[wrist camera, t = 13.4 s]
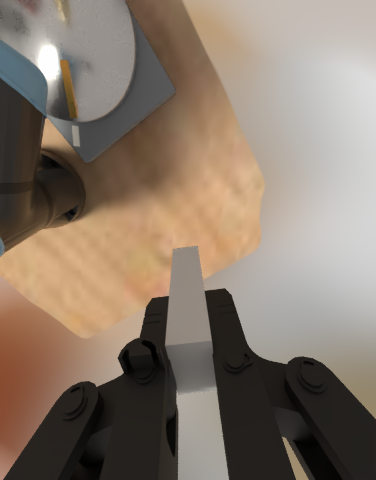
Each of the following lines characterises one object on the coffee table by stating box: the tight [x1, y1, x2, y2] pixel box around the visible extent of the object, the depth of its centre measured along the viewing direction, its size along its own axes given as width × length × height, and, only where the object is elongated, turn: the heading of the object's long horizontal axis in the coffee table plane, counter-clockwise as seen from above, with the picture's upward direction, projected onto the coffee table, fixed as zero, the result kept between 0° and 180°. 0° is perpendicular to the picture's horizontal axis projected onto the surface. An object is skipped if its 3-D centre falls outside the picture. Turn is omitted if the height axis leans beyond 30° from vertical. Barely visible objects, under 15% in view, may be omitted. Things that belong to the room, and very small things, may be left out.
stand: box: [47, 1, 176, 163], centre depth 32 cm, size 26×20×3 cm
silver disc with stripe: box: [0, 0, 137, 123], centre depth 25 cm, size 20×20×11 cm
